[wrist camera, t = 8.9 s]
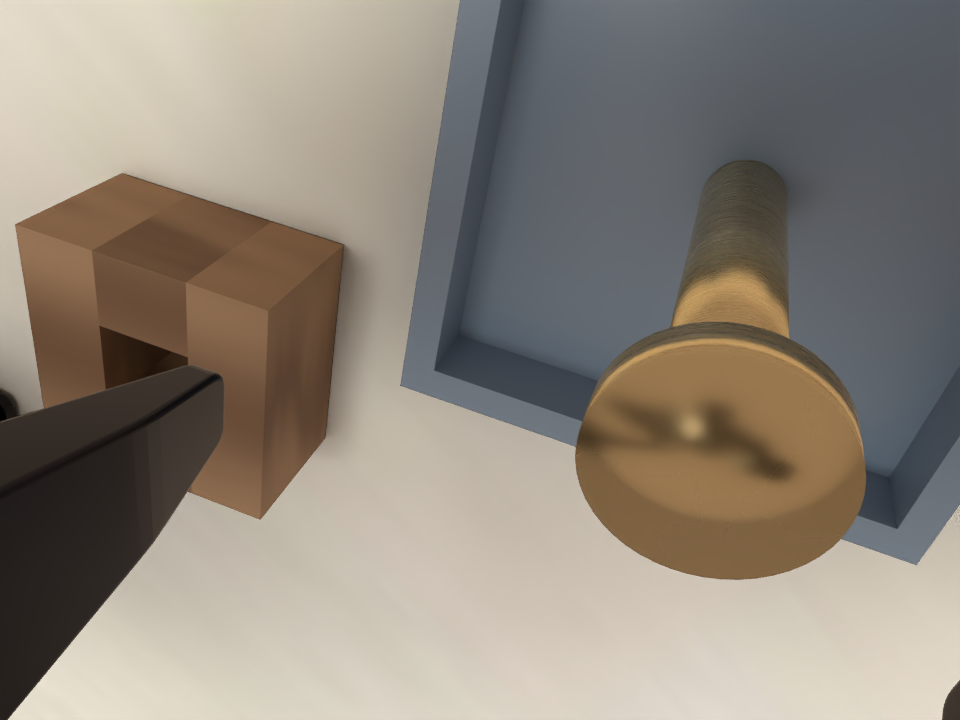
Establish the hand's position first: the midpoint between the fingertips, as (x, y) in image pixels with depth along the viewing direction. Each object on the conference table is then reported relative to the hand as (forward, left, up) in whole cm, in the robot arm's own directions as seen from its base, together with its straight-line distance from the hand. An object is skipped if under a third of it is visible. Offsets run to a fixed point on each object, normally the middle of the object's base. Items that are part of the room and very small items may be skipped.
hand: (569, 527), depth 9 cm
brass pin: (0, -1, -11) cm, 11 cm away
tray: (0, -1, -12) cm, 12 cm away
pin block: (-8, +12, -12) cm, 18 cm away
